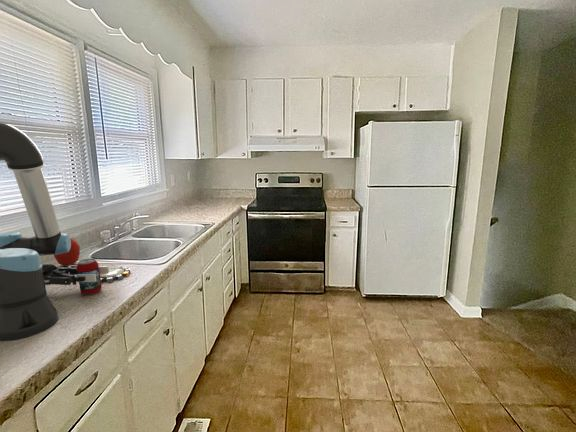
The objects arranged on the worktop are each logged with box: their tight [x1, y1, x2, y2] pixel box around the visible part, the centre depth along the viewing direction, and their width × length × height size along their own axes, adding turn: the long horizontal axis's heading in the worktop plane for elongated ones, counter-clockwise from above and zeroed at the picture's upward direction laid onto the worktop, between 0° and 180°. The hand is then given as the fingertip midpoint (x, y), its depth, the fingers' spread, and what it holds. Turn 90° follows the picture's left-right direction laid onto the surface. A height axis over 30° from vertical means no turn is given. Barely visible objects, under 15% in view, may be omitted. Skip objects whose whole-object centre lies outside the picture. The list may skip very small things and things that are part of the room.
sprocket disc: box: [100, 266, 131, 284], centre depth 133 cm, size 15×15×2 cm
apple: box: [53, 238, 81, 267], centre depth 147 cm, size 10×10×14 cm
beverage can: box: [76, 258, 102, 295], centre depth 117 cm, size 7×7×12 cm
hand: (101, 273), depth 116 cm, fingers open, 7 cm apart
